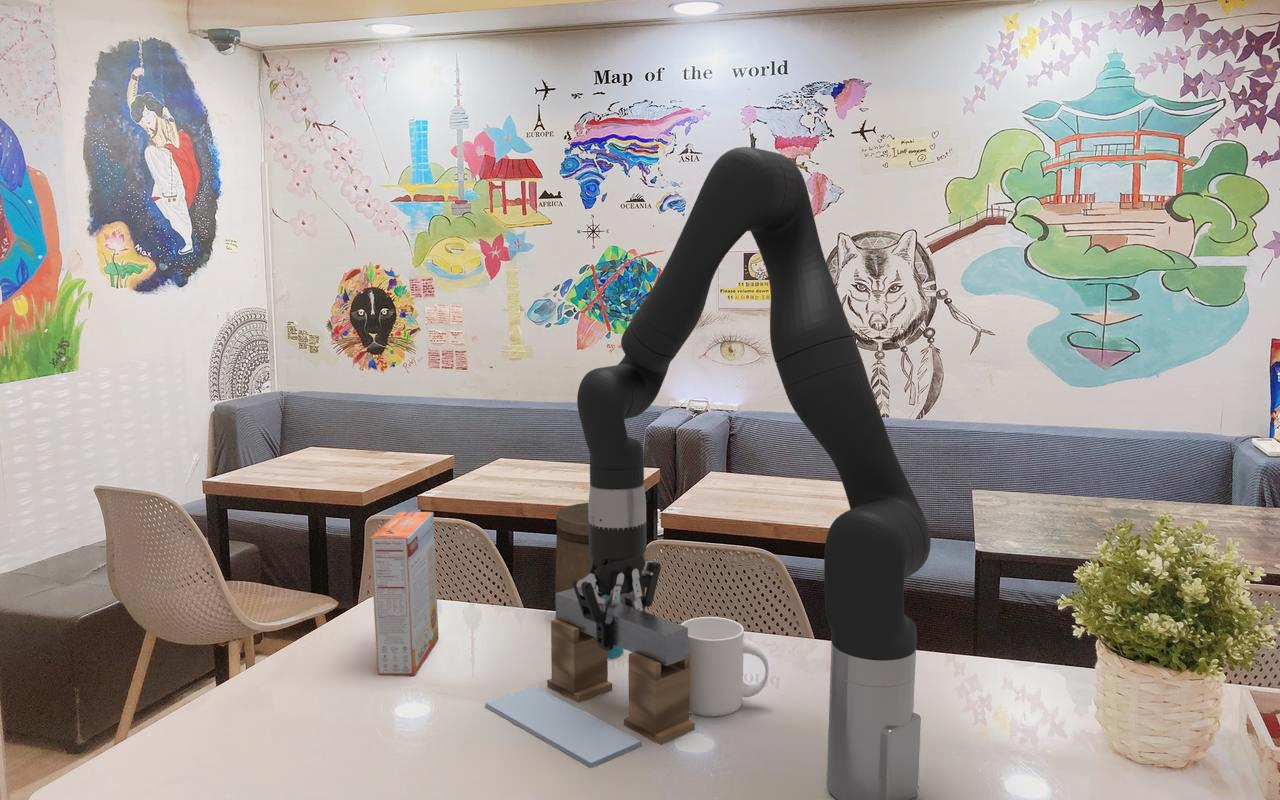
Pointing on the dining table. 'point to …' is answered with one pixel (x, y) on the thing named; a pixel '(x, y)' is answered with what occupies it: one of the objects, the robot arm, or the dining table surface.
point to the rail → (631, 629)
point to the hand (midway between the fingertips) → (618, 643)
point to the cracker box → (404, 592)
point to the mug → (719, 665)
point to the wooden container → (573, 546)
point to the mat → (563, 726)
